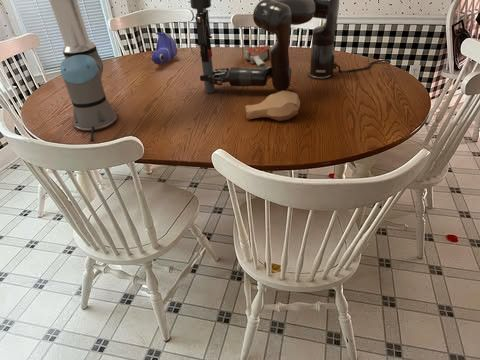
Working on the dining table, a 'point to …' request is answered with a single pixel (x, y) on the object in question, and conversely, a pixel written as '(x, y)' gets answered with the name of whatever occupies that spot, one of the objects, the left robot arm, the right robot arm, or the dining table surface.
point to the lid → (208, 53)
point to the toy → (164, 49)
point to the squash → (275, 106)
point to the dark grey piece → (208, 71)
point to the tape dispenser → (257, 55)
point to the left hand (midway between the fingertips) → (207, 58)
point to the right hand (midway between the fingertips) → (202, 76)
